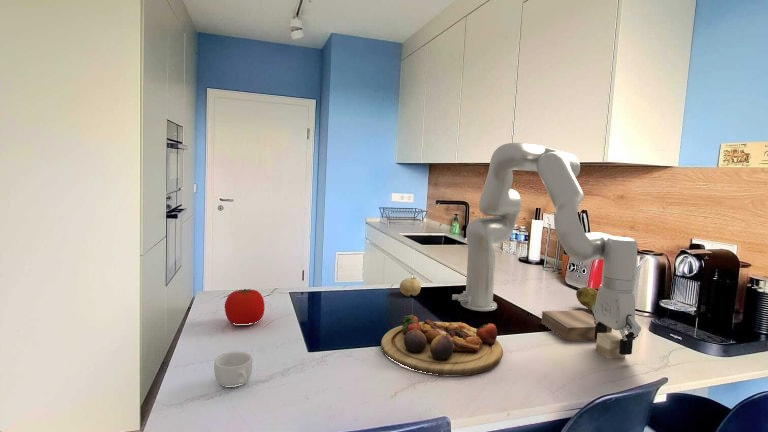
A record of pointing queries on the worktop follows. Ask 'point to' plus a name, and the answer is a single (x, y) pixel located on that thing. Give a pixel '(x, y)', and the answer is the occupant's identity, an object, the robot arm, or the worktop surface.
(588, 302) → the green pickle
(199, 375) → the worktop surface
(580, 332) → the walnut base block
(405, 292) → the cream round lump
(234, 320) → the tomato
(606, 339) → the maple cube
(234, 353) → the teacup
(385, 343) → the wooden plate with food
